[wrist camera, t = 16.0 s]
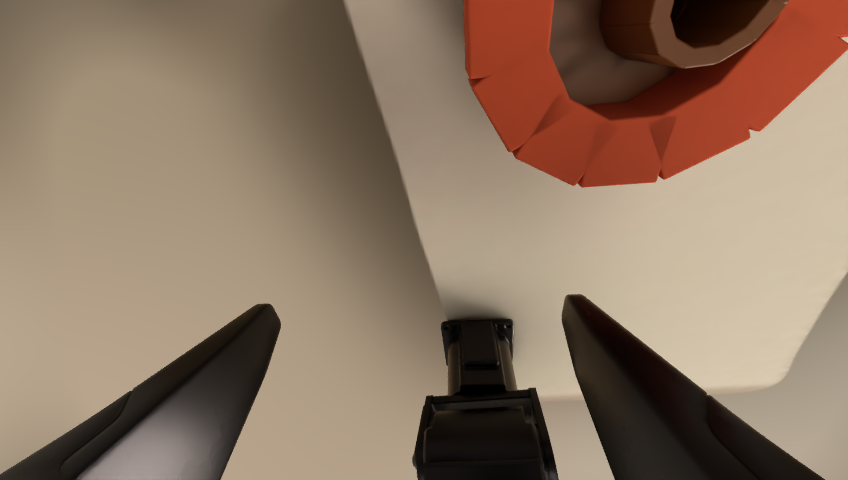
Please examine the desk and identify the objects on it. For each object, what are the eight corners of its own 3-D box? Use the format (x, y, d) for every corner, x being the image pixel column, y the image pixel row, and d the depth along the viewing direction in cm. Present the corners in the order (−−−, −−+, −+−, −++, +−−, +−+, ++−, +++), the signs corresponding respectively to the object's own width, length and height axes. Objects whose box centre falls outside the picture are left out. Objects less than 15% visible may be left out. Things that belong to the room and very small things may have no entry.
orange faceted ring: (729, 151, 12) (782, 174, 10) (468, 172, 13) (471, 195, 11) (948, -331, 6) (1158, -483, 4) (456, -218, 7) (458, -302, 5)
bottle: (641, 92, 17) (826, 151, 9) (490, 110, 18) (526, 179, 10) (694, -127, 12) (1190, -447, 4) (489, -86, 13) (554, -273, 5)
